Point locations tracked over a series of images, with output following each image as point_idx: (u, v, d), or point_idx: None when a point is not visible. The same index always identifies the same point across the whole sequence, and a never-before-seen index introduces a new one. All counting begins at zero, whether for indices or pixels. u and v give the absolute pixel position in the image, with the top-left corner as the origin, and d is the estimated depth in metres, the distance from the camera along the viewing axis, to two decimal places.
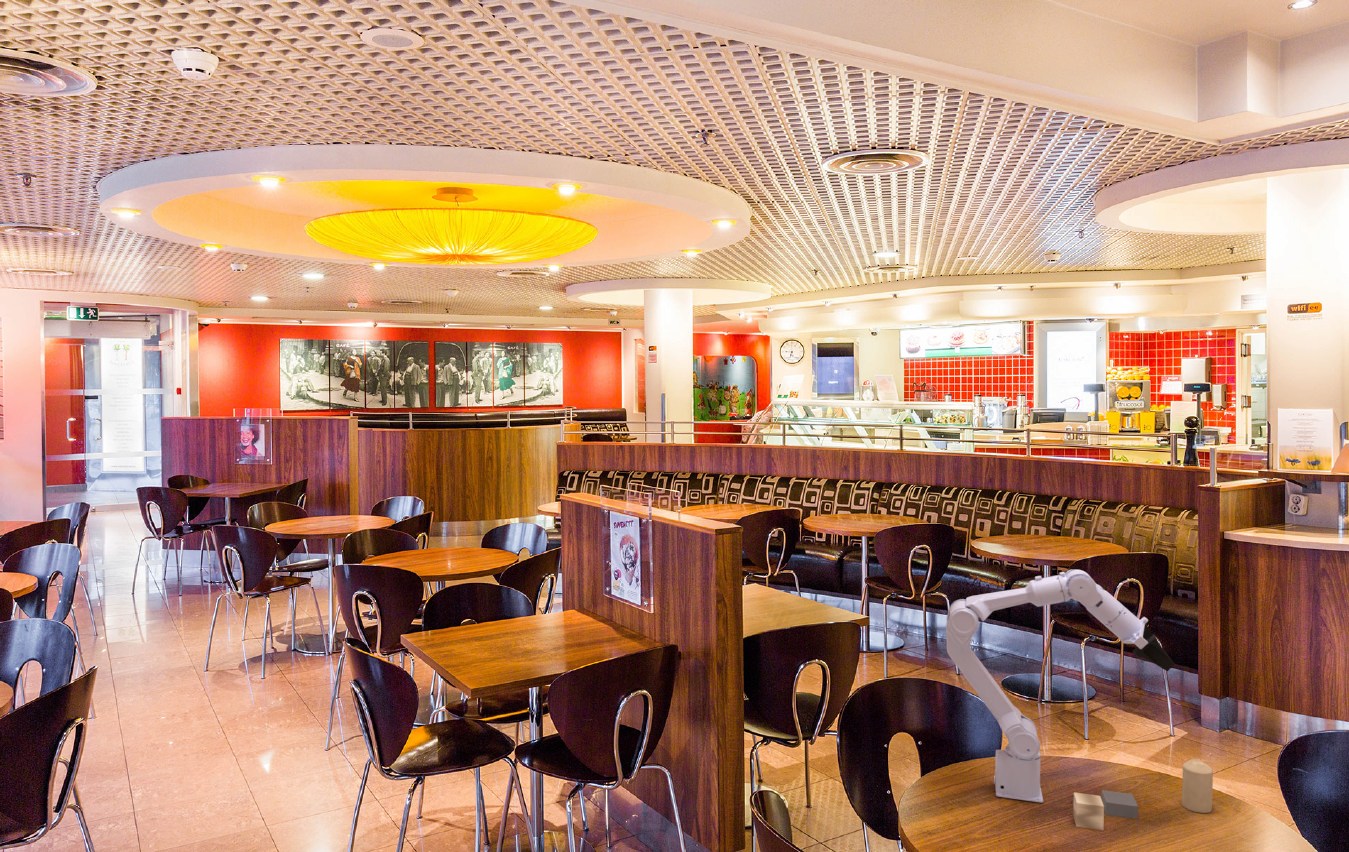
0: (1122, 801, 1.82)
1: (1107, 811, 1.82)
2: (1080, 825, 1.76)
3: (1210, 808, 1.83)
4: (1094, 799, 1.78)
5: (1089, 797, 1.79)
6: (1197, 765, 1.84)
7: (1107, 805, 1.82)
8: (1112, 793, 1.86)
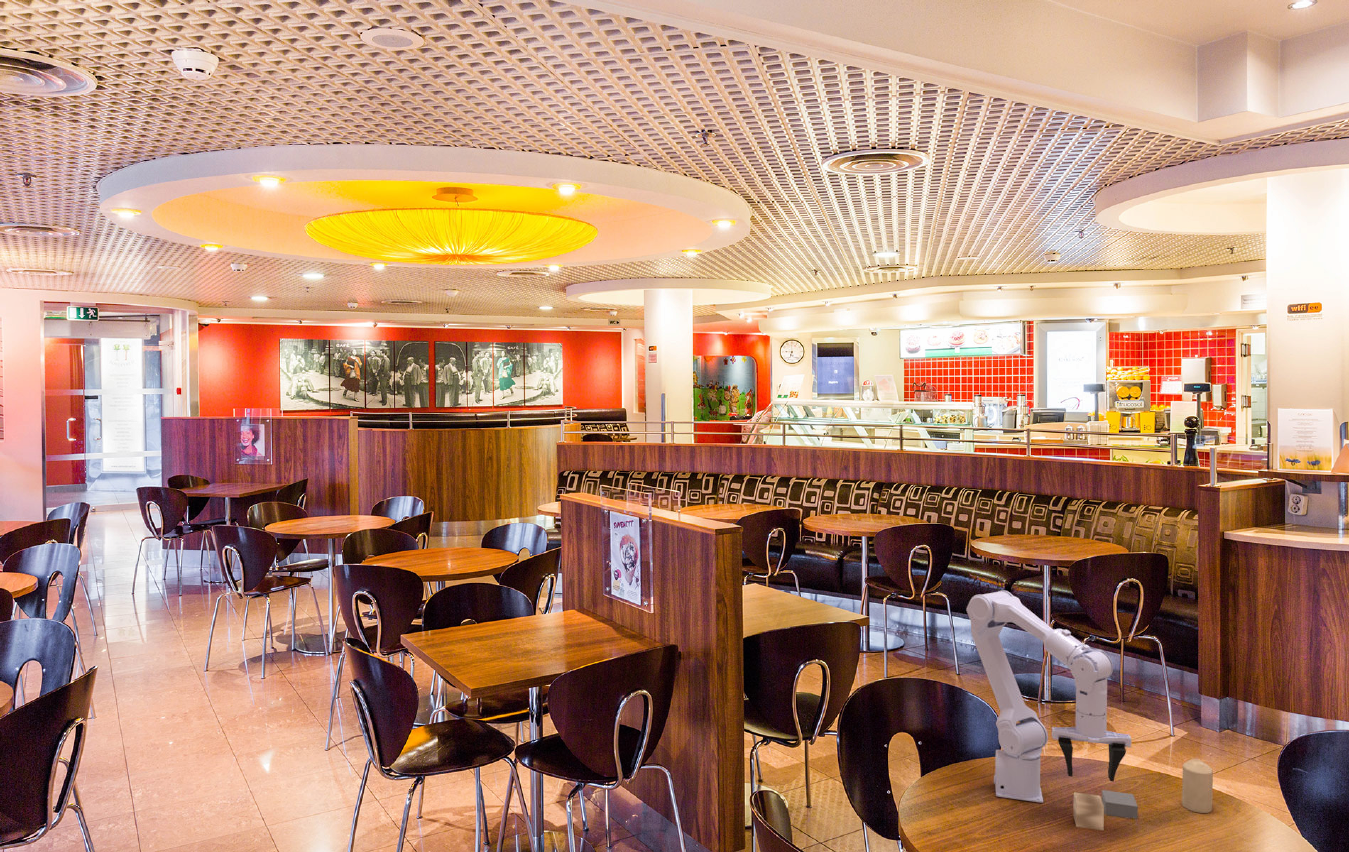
0: (1122, 801, 1.82)
1: (1107, 811, 1.82)
2: (1080, 825, 1.76)
3: (1210, 808, 1.83)
4: (1094, 799, 1.78)
5: (1089, 797, 1.79)
6: (1197, 765, 1.84)
7: (1107, 805, 1.82)
8: (1112, 793, 1.86)
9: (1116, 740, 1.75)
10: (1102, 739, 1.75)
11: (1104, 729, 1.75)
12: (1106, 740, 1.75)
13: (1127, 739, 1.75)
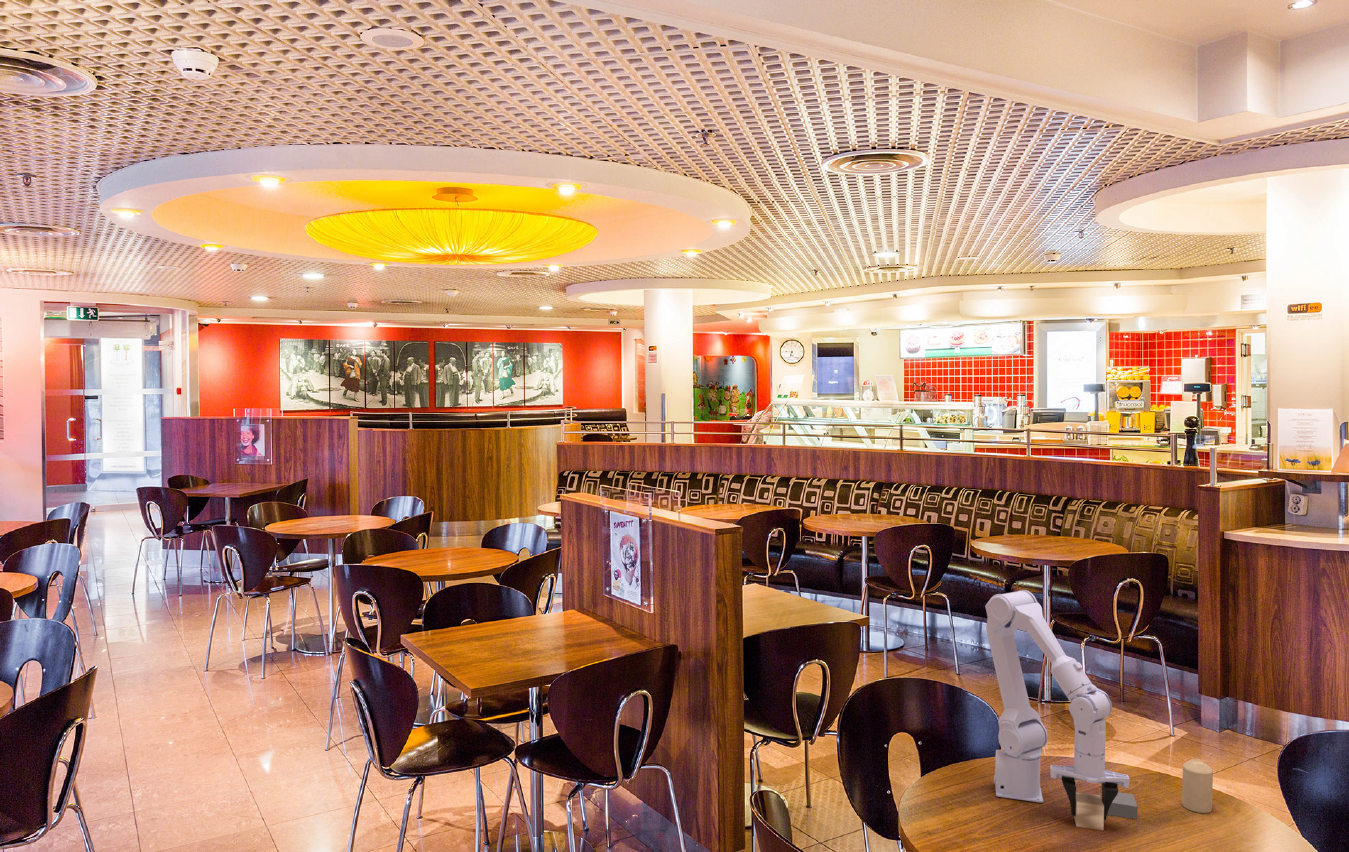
0: (1121, 801, 1.82)
1: None
2: (1080, 824, 1.76)
3: (1210, 808, 1.83)
4: (1094, 798, 1.78)
5: (1089, 796, 1.79)
6: (1197, 765, 1.84)
7: None
8: None
9: (1114, 780, 1.75)
10: (1100, 779, 1.75)
11: (1102, 769, 1.75)
12: (1104, 780, 1.75)
13: (1125, 779, 1.75)
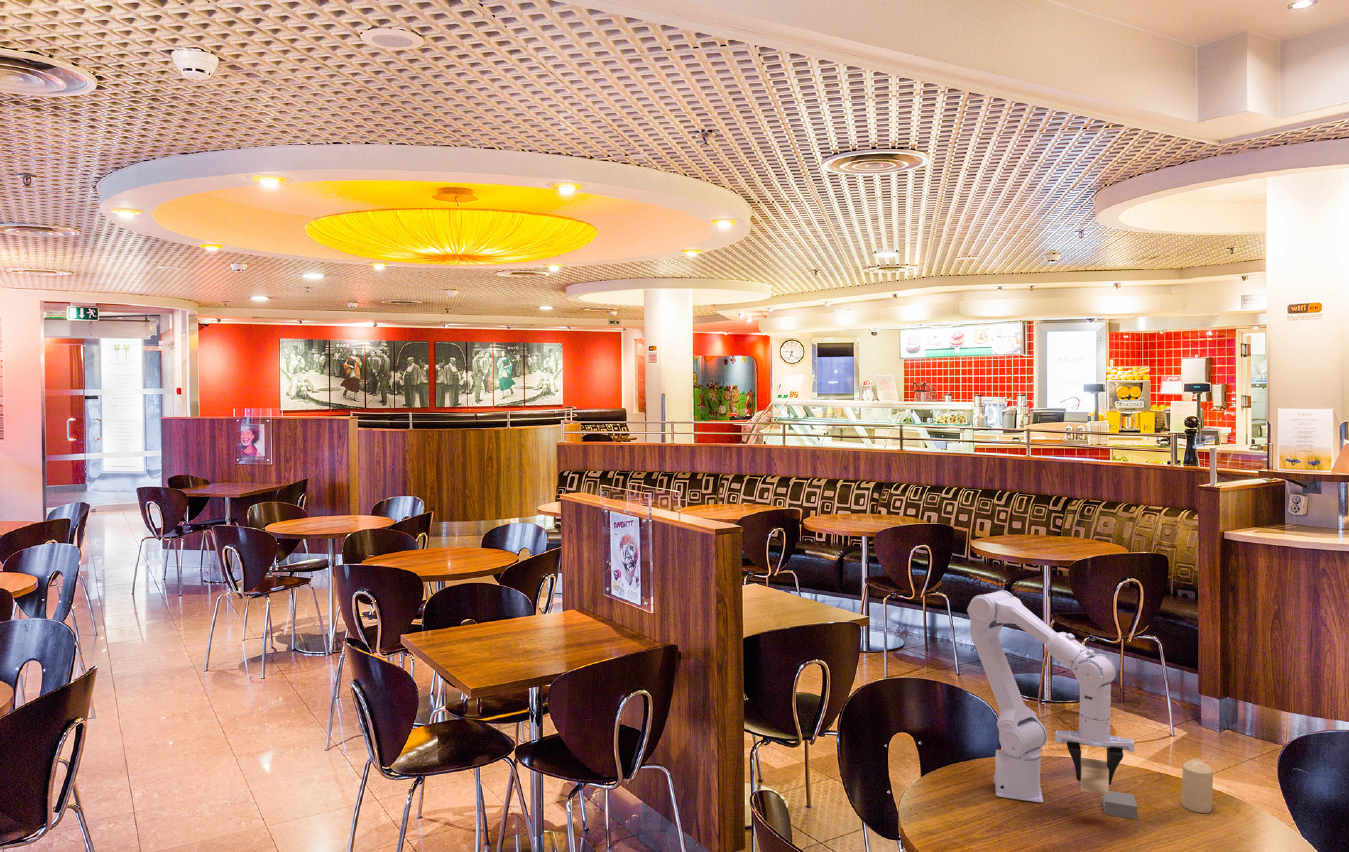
0: (1121, 801, 1.82)
1: (1106, 810, 1.82)
2: (1085, 789, 1.77)
3: (1210, 808, 1.83)
4: (1099, 763, 1.78)
5: (1094, 761, 1.80)
6: (1197, 765, 1.84)
7: (1106, 804, 1.82)
8: (1113, 793, 1.86)
9: (1119, 745, 1.75)
10: (1105, 743, 1.75)
11: (1107, 733, 1.76)
12: (1109, 744, 1.75)
13: (1130, 744, 1.75)
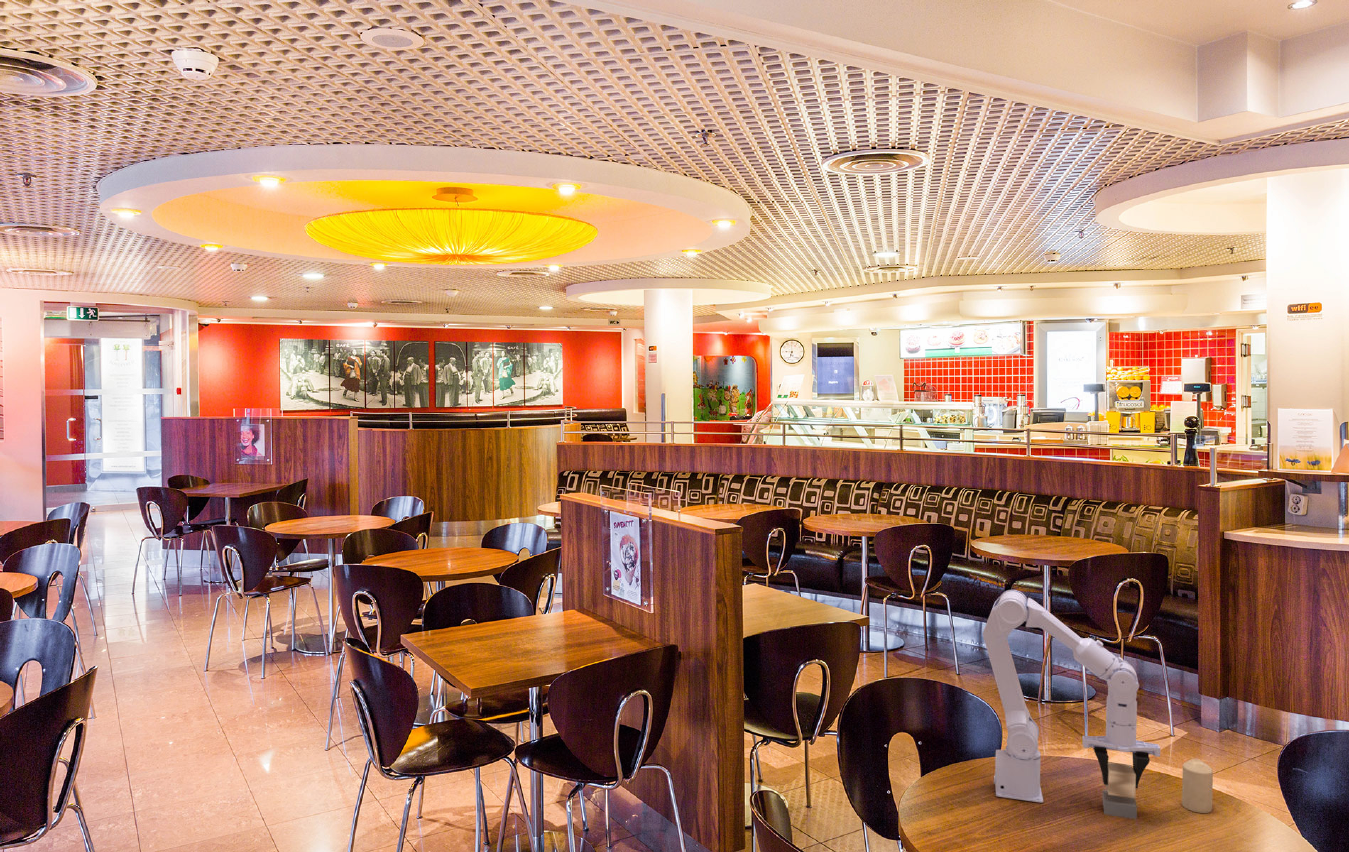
0: (1121, 801, 1.82)
1: (1106, 810, 1.82)
2: (1112, 793, 1.82)
3: (1210, 808, 1.83)
4: (1126, 768, 1.83)
5: (1120, 766, 1.84)
6: (1197, 765, 1.84)
7: (1106, 804, 1.82)
8: None
9: (1145, 749, 1.80)
10: (1132, 748, 1.80)
11: (1134, 739, 1.81)
12: (1136, 749, 1.80)
13: (1156, 749, 1.80)
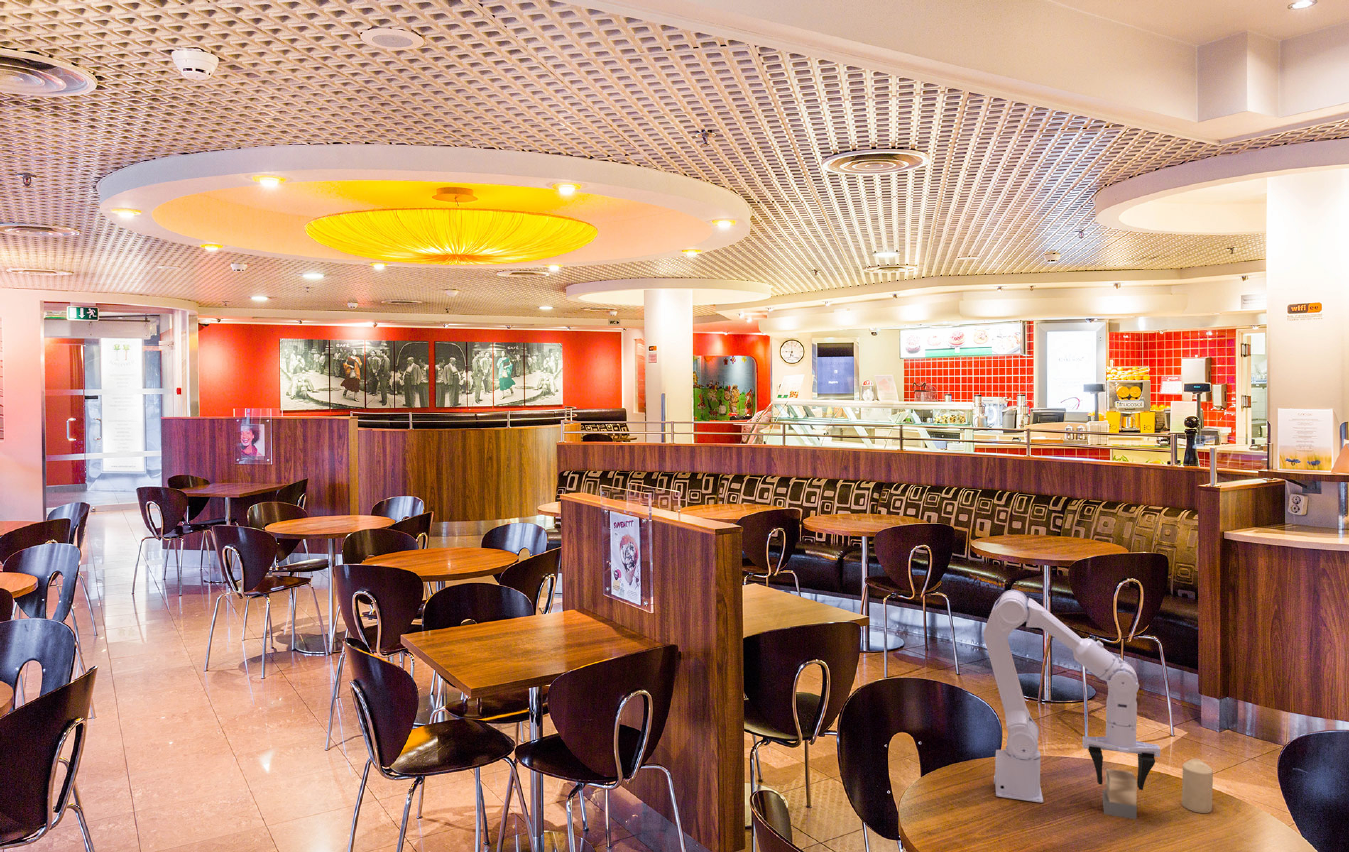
0: None
1: (1105, 810, 1.82)
2: (1113, 800, 1.82)
3: (1210, 808, 1.83)
4: (1126, 775, 1.83)
5: (1121, 773, 1.84)
6: (1197, 765, 1.84)
7: (1105, 804, 1.82)
8: None
9: (1145, 750, 1.80)
10: (1132, 749, 1.80)
11: (1134, 739, 1.81)
12: (1136, 750, 1.80)
13: (1156, 749, 1.80)
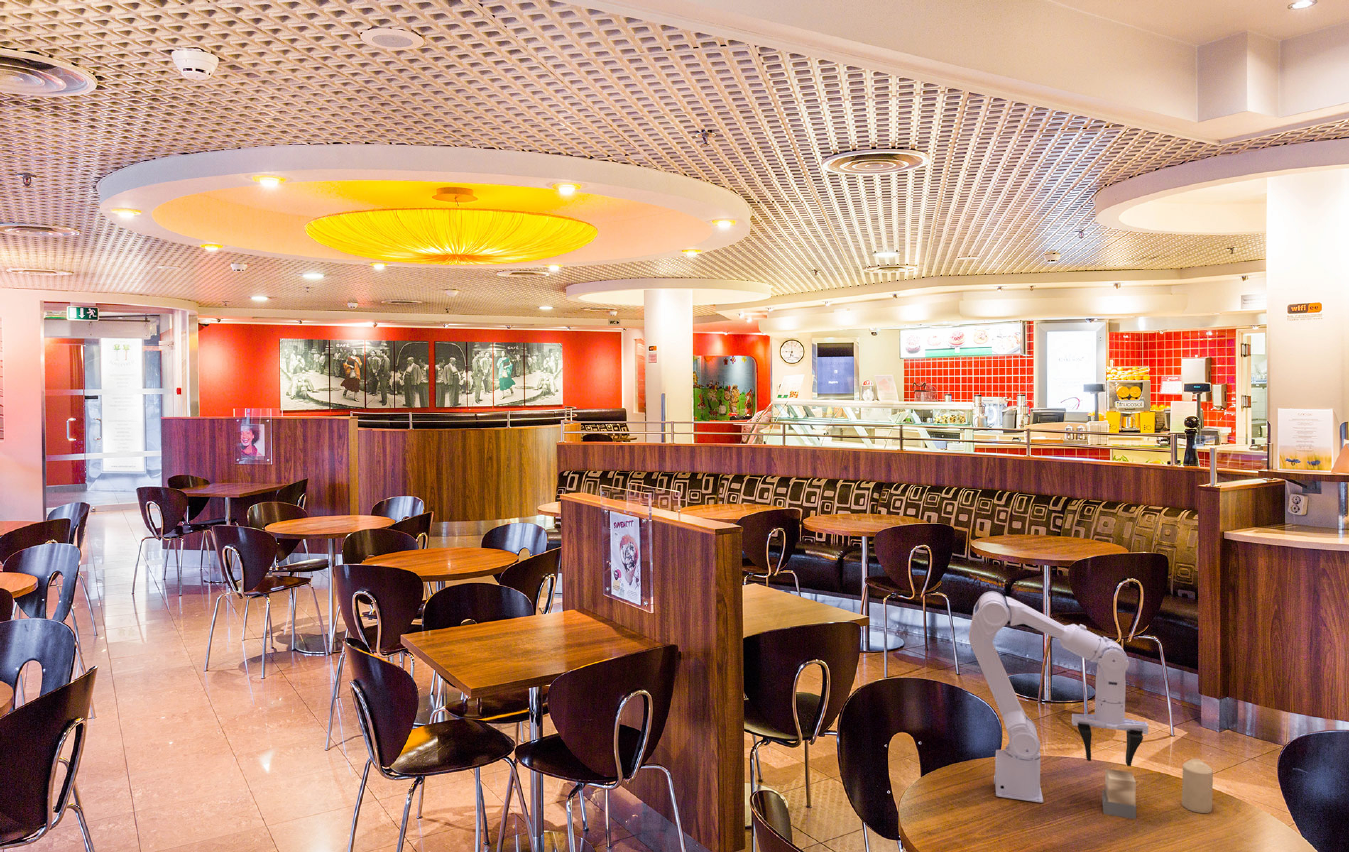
0: None
1: (1105, 810, 1.82)
2: (1112, 800, 1.82)
3: (1210, 808, 1.83)
4: (1126, 775, 1.83)
5: (1121, 773, 1.84)
6: (1197, 765, 1.84)
7: (1105, 804, 1.82)
8: None
9: (1134, 727, 1.83)
10: (1120, 726, 1.83)
11: (1122, 716, 1.83)
12: (1124, 727, 1.83)
13: (1144, 726, 1.83)
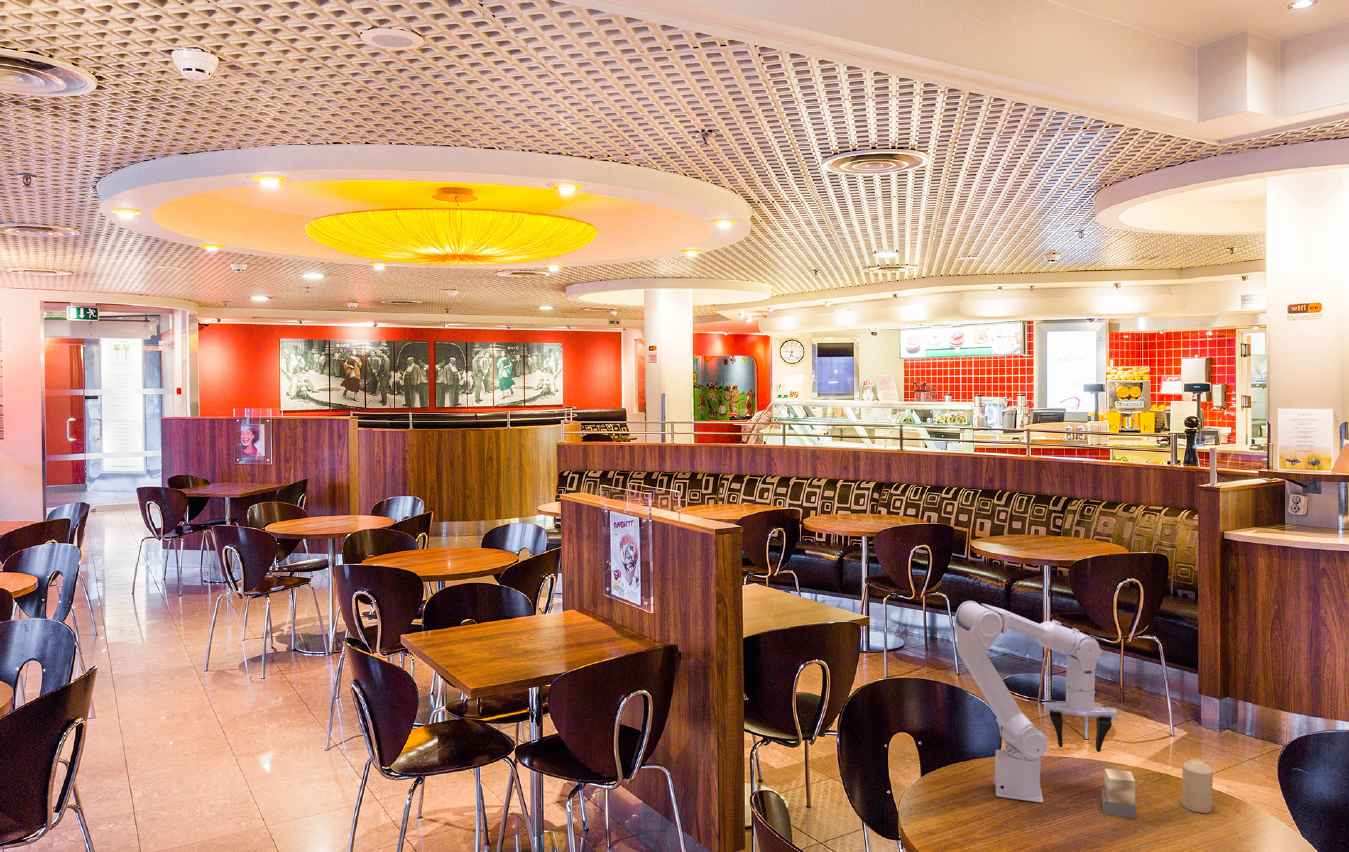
0: None
1: (1105, 810, 1.82)
2: (1112, 800, 1.82)
3: (1210, 808, 1.83)
4: (1125, 774, 1.83)
5: (1120, 772, 1.84)
6: (1197, 765, 1.84)
7: (1105, 804, 1.82)
8: None
9: (1103, 714, 1.90)
10: (1090, 713, 1.90)
11: (1092, 704, 1.90)
12: (1093, 714, 1.90)
13: (1113, 713, 1.90)
